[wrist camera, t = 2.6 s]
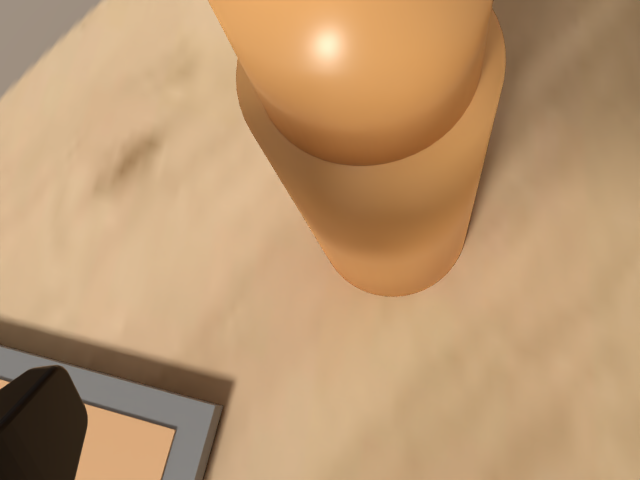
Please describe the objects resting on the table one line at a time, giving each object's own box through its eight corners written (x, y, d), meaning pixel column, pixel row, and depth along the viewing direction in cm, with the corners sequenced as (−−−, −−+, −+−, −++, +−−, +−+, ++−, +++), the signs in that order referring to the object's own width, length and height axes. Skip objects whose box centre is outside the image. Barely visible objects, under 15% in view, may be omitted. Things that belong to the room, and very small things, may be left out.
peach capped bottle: (478, 172, 20) (564, -199, 8) (450, 311, 19) (500, 129, 7) (339, 148, 21) (227, -211, 9) (306, 279, 20) (126, 73, 8)
